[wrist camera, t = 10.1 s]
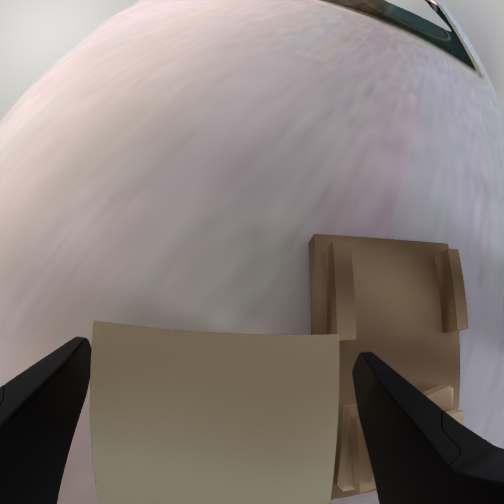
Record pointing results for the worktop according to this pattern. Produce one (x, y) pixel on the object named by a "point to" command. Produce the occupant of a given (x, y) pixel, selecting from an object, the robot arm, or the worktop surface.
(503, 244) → the worktop surface
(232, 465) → the beige rectangular block
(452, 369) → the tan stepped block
